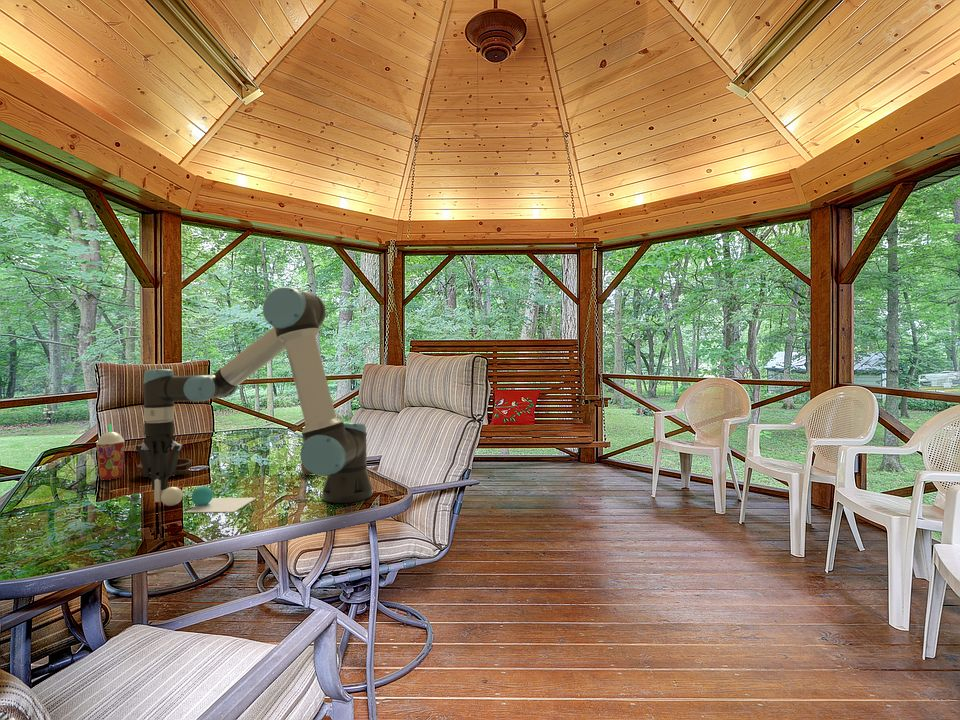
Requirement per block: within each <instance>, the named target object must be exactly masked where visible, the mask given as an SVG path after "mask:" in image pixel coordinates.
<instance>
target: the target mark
mask: <svg viewBox="0 0 960 720" xmlns="http://www.w3.org/2000/svg"><path fill="white" fill-rule="evenodd" d="M256 499H258V497H213V498H212V500H211V501H210V502H209V503H208V504H206V505H202V506H199V505H195V506H194V507H191V508H190V509H188V510H186V511H184V513H187V514H188V513H191V514H192V513H197V514H198V513H201V514H202V513H235V512H237V511H239V510H240V509H242V508H243V507H245V506H247V505H249V504H250V503H251V502H253V501H255V500H256Z"/></svg>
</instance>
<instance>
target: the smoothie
mask: <svg viewBox="0 0 960 720" xmlns="http://www.w3.org/2000/svg"><path fill="white" fill-rule="evenodd" d="M108 426H109V427H108V428H109V429H108V432H107V431H106V432H105V433H103V434H101V435H100V437H99V438H98V440H97V441H96V453H97V463H98V464H97V465H98V466H97V467H98V477H99V478H100V479H104V480H108V479H115V478H118V477H121V478H122V475H123V473H124V472H123V470H124V455H125V439H124V438H123V436H122V435H121V434H120V433H119V432H116V431H112V428H113V426H112V424H109V425H108Z"/></svg>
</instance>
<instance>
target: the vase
mask: <svg viewBox="0 0 960 720" xmlns="http://www.w3.org/2000/svg"><path fill="white" fill-rule="evenodd" d="M300 469H301V472H302V473H303V475H304V474H307V475H309V474H313V473H311V472H309V471H308V470H307V469H306V468H305V467H304V465H303V463H302V461H301V463H300Z"/></svg>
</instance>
